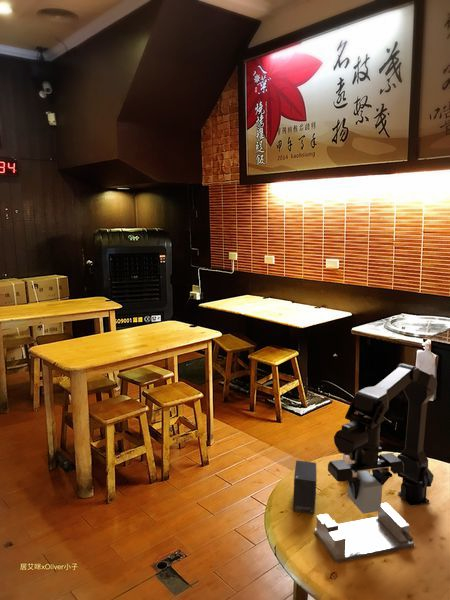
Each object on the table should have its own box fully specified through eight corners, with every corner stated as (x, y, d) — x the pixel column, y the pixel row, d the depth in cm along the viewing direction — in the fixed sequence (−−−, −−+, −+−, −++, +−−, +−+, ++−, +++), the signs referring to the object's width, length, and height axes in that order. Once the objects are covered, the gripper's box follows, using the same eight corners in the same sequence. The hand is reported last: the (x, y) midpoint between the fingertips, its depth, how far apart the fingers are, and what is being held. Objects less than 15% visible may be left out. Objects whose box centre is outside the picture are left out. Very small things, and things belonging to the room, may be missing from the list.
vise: (386, 518, 133) (388, 497, 132) (414, 546, 122) (415, 524, 120) (314, 531, 127) (315, 510, 126) (335, 563, 116) (336, 540, 115)
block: (364, 493, 128) (365, 469, 127) (380, 510, 120) (382, 485, 119) (347, 495, 127) (348, 471, 125) (362, 513, 119) (364, 488, 118)
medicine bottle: (369, 481, 151) (371, 446, 149) (347, 481, 151) (348, 446, 149) (363, 469, 158) (365, 436, 156) (342, 469, 158) (343, 436, 156)
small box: (315, 514, 135) (316, 480, 133) (292, 512, 136) (293, 478, 134) (316, 493, 145) (317, 461, 143) (294, 491, 146) (295, 459, 144)
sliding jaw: (381, 512, 134) (381, 497, 133) (414, 546, 120) (415, 531, 119) (373, 513, 133) (373, 499, 132) (405, 548, 119) (406, 533, 118)
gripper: (382, 423, 130) (378, 476, 133) (319, 431, 126) (317, 485, 128) (407, 442, 120) (403, 498, 122) (339, 450, 115) (336, 509, 118)
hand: (364, 497), depth 123 cm, fingers closed on block, 5 cm apart
